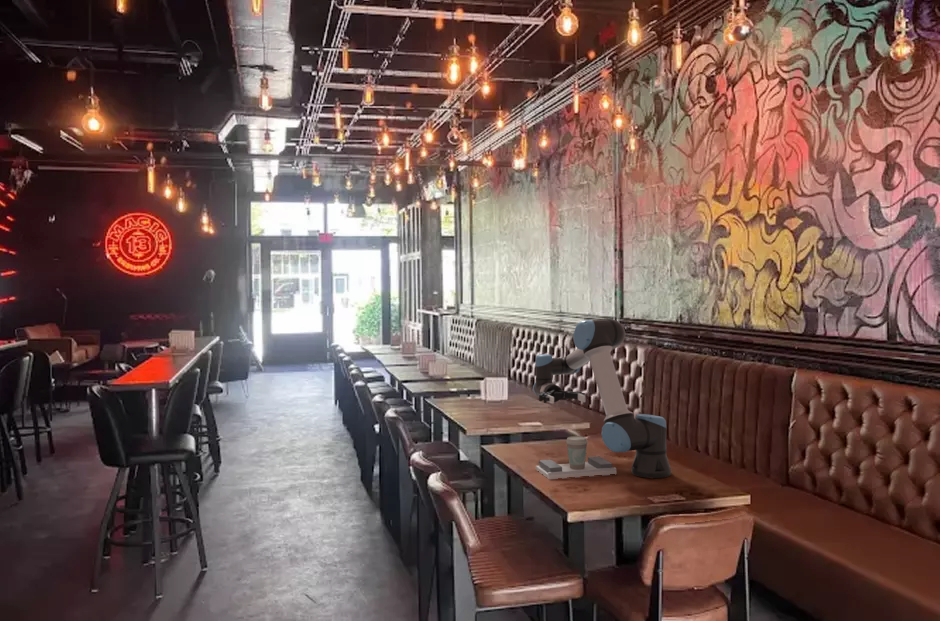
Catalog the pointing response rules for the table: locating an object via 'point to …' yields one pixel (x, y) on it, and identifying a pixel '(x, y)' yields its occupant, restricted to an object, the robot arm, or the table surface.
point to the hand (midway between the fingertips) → (569, 399)
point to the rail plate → (563, 470)
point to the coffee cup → (577, 451)
